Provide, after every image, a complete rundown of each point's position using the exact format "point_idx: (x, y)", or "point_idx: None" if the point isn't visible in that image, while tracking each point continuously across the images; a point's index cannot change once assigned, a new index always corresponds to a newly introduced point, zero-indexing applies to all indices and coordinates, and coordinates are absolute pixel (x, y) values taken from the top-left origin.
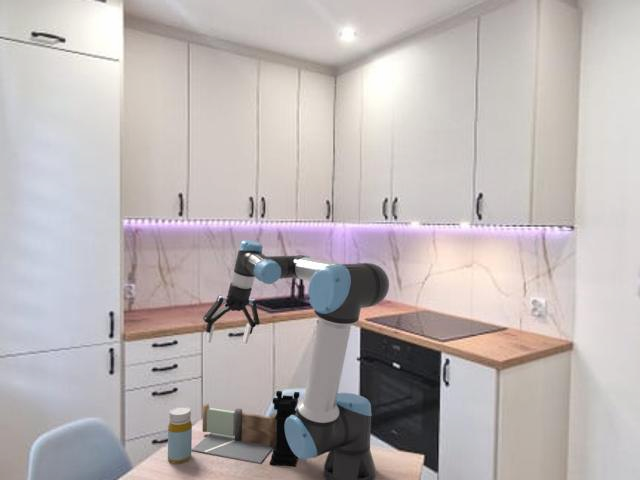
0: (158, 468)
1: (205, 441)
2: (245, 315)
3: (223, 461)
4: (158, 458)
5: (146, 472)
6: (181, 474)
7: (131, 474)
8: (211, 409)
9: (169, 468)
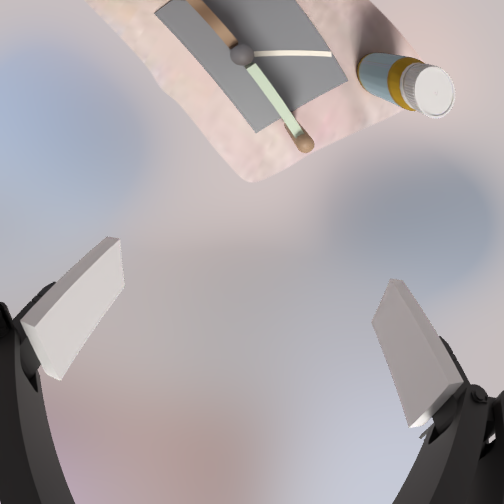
0: None
1: (308, 91)
2: (52, 465)
3: (315, 3)
4: None
5: None
6: (396, 28)
7: None
8: (296, 122)
9: None
